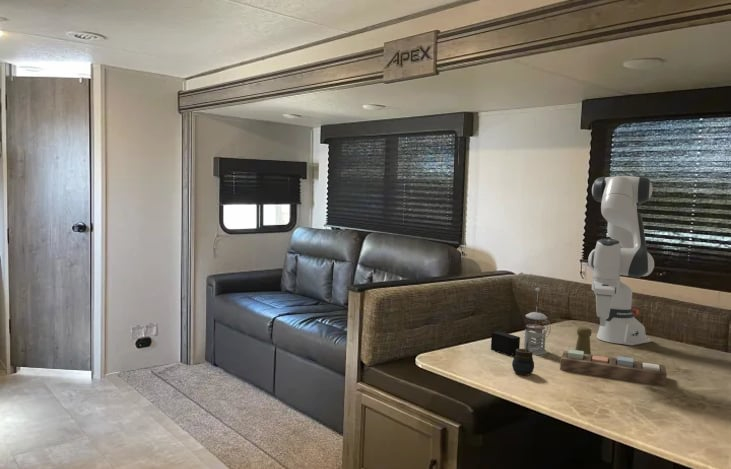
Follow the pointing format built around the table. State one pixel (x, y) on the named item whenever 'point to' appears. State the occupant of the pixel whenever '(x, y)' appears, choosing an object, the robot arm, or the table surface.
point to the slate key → (624, 361)
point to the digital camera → (505, 343)
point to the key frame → (614, 369)
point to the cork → (583, 340)
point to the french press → (538, 335)
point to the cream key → (650, 366)
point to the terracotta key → (600, 359)
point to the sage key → (575, 354)
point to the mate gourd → (523, 361)
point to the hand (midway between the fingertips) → (602, 325)
